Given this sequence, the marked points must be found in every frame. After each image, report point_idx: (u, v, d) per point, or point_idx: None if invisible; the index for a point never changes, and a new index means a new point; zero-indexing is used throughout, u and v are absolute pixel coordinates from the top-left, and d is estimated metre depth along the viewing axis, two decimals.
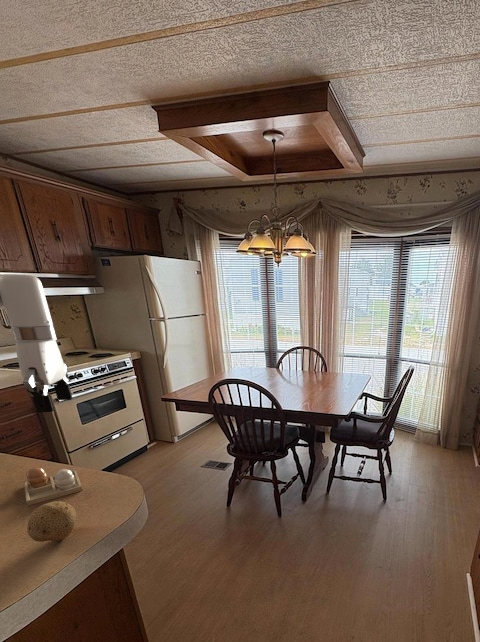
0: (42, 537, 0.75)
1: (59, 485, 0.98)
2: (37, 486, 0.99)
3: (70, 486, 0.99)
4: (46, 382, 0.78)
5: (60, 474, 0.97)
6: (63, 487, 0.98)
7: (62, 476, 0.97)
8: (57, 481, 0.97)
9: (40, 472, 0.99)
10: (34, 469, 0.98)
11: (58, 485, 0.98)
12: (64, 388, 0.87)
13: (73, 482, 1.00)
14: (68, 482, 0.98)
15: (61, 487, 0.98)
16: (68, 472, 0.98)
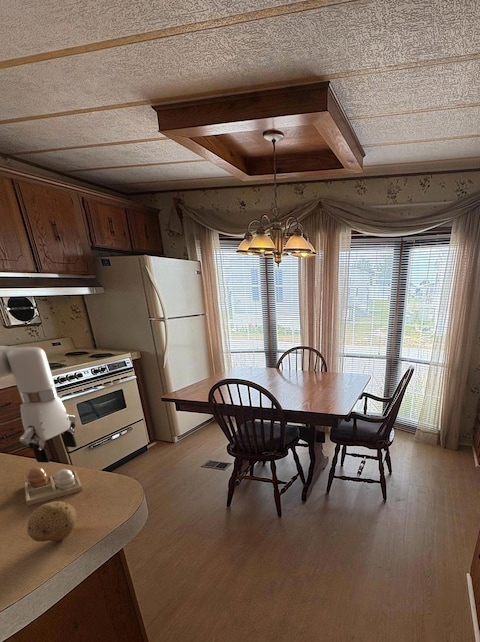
0: (42, 537, 0.75)
1: (59, 485, 0.98)
2: (37, 486, 0.99)
3: (70, 486, 0.99)
4: (42, 438, 0.89)
5: (60, 474, 0.97)
6: (63, 487, 0.98)
7: (62, 476, 0.97)
8: (57, 481, 0.97)
9: (40, 472, 0.99)
10: (34, 469, 0.98)
11: (58, 485, 0.98)
12: (69, 437, 0.99)
13: (73, 482, 1.00)
14: (68, 482, 0.98)
15: (61, 487, 0.98)
16: (68, 472, 0.98)
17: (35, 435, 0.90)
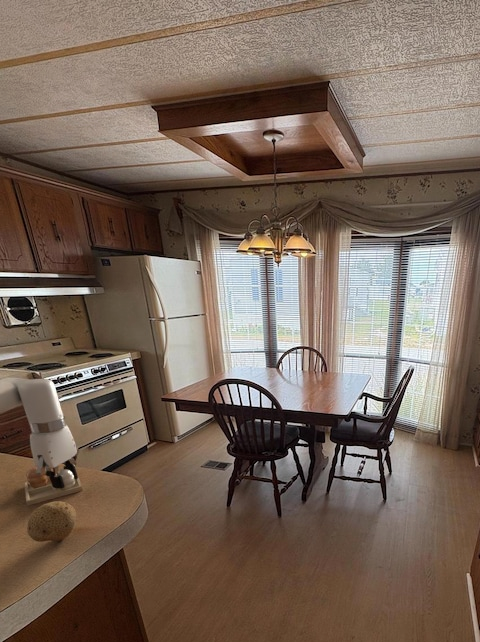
0: (42, 537, 0.75)
1: None
2: (37, 486, 0.99)
3: (70, 486, 0.99)
4: (51, 466, 0.92)
5: (60, 474, 0.97)
6: None
7: (62, 476, 0.97)
8: None
9: None
10: (34, 469, 0.98)
11: None
12: (71, 470, 1.01)
13: (73, 482, 1.00)
14: (68, 482, 0.98)
15: None
16: (68, 472, 0.98)
17: (47, 463, 0.94)
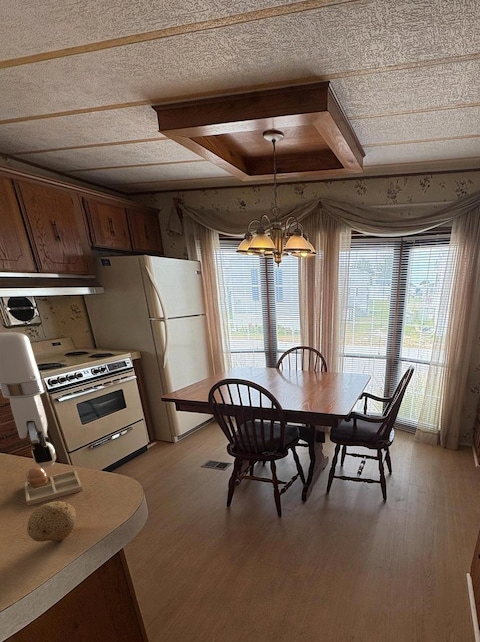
0: (42, 537, 0.75)
1: None
2: (37, 486, 0.99)
3: (55, 459, 0.87)
4: (44, 433, 0.81)
5: None
6: None
7: None
8: None
9: (40, 472, 0.99)
10: (34, 469, 0.98)
11: None
12: None
13: (55, 454, 0.88)
14: (53, 454, 0.86)
15: None
16: (49, 443, 0.86)
17: (29, 434, 0.81)
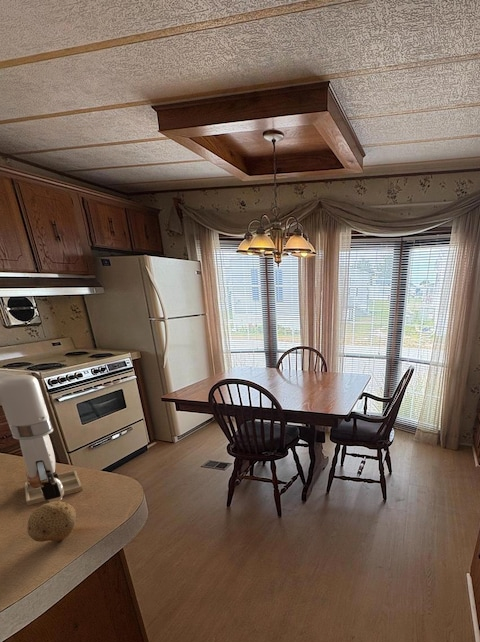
0: (42, 537, 0.75)
1: None
2: (37, 486, 0.99)
3: (63, 494, 0.89)
4: (52, 471, 0.82)
5: None
6: None
7: None
8: None
9: None
10: None
11: None
12: (53, 478, 0.89)
13: (63, 489, 0.89)
14: (61, 489, 0.88)
15: None
16: (57, 479, 0.88)
17: (38, 472, 0.82)
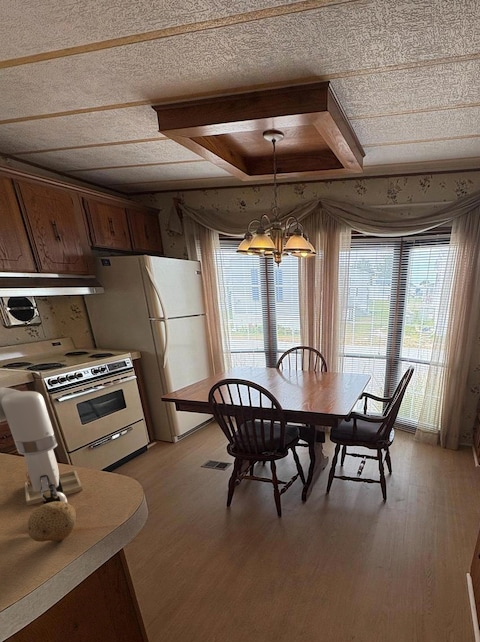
0: (42, 537, 0.75)
1: None
2: None
3: None
4: (56, 485, 0.84)
5: None
6: None
7: None
8: None
9: None
10: None
11: None
12: None
13: (67, 503, 0.91)
14: None
15: None
16: (62, 493, 0.89)
17: (42, 486, 0.83)
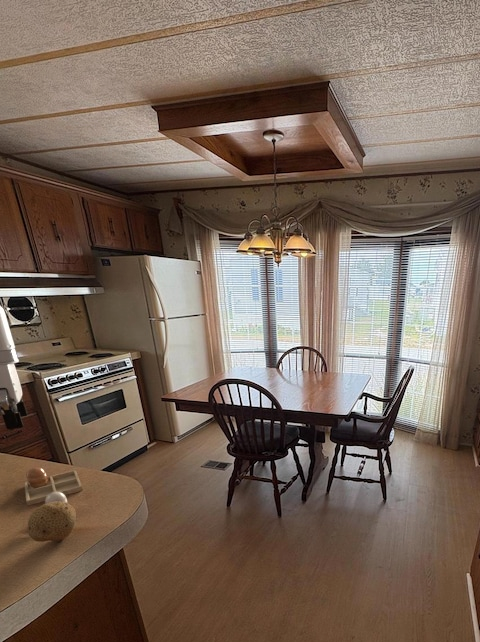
0: (42, 537, 0.75)
1: None
2: (37, 486, 0.99)
3: None
4: (16, 400, 0.85)
5: (57, 496, 0.88)
6: None
7: (59, 498, 0.88)
8: None
9: (40, 472, 0.99)
10: (34, 469, 0.98)
11: None
12: (20, 405, 0.92)
13: (67, 503, 0.91)
14: None
15: None
16: (62, 493, 0.89)
17: None
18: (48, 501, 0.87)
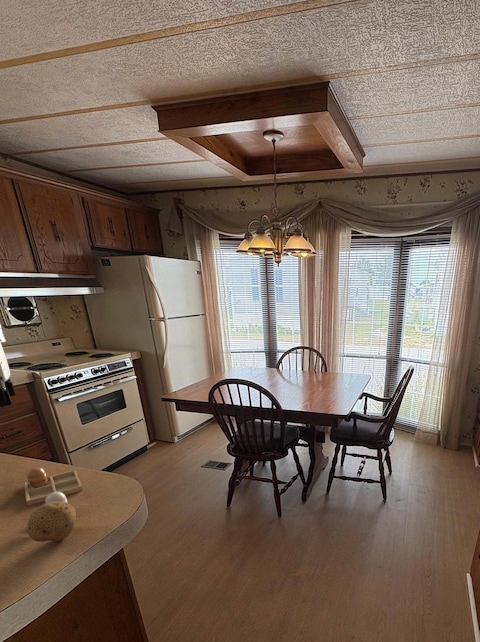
0: (42, 537, 0.75)
1: None
2: (37, 486, 0.99)
3: None
4: (4, 378, 0.88)
5: (57, 496, 0.88)
6: None
7: (59, 498, 0.88)
8: None
9: (40, 472, 0.99)
10: (34, 469, 0.98)
11: None
12: (8, 385, 0.96)
13: (67, 503, 0.91)
14: None
15: None
16: (62, 493, 0.89)
17: None
18: (48, 501, 0.87)
